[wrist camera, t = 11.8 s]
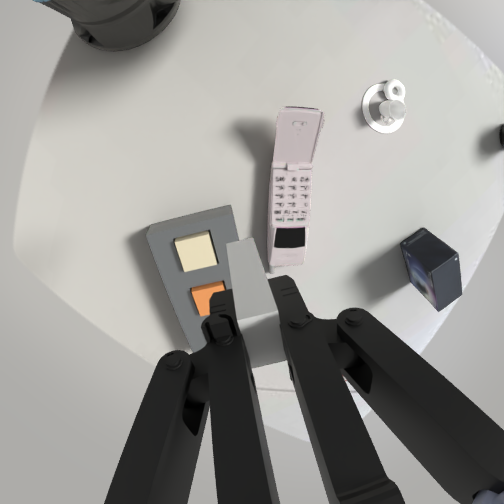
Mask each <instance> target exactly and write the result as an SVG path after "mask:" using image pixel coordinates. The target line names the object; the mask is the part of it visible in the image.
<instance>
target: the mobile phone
mask: <svg viewBox="0 0 504 504" xmlns="http://www.w3.org/2000/svg"><path fill="white" fill-rule="evenodd" d="M324 114H325V113H324V111H322V110H320V109H314V108H305V107H282V108H280V110H279V116H277V121H276V125H277V129H276V138H275V147H274V156H273V162H272V163H271V175H270V184H269V200H268V231H267V252H268V263H269V273H270V274H274V271H275V266H289V265H302V264H303V263H304V260H305V254H306V247H307V240H308V231H309V220H310V207H311V183H312V168H313V165H312V161H313V157H314V153H315V150H316V146H317V142H318V138H319V135H320V131H321V128H323V124H324Z"/></svg>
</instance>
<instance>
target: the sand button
mask: <svg viewBox="0 0 504 504" xmlns="http://www.w3.org/2000/svg"><path fill="white" fill-rule="evenodd" d="M175 245H176V248H177V251H178V254H179V257H180V260H181V263H182V266H183V269H184V272H187V271H192V270H196V269H200V268H204V267H209V266H213V265H217V260H216V250H215V246H214V242H213V239H212V235H211V231H210V230H206V231H202V232H198V233H194V234H190V235H186V236H182V237H178V238H176V239H175Z"/></svg>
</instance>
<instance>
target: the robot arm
mask: <svg viewBox="0 0 504 504" xmlns="http://www.w3.org/2000/svg"><path fill="white" fill-rule="evenodd" d="M33 1H35V2H40V3H42V4H43V5H46V6H48V7H50V8H52V9H54V10H56V11H58V12H60V13H61V14H63V15H65V16H67V17H69V18H71V21H72V24H73V27H74V30H75V32H76V33H77V35H78V36H79V37H80V38H81V39H82V40H83V41H84V42H86V43H87V44H89V45H91V46H93V47H95V48H98V49H101V50H106V51H121V50H127V49H131V48H134V47H137V46H139V45H142V44H144V43H146V42H147V41H149V40H151V39H152V38H154V37H155V36H157V35H158V34H159V33H160V32H161V31H163V30H164V29H165V28H166V27H167V25H168V24H169V23H170V22H171V20H172V19H173V17H174V16H175V14H176V12H177V10H178V7H179V4H180V0H33ZM226 247H227V254H228V261H229V269H230V276H231V283H232V289H228V290H223V291H219V292H214V293H213V294H212V296H211V298H210V299H209V308H210V309H209V312H210V316H208V317H207V318H205V320H204V321H203V322H202V324H201V329H202V332H203V334H204V337H205V339H206V342H207V344H206V345H205V346H204V347H203V348H202V349H200V350H198V351H197V352H194V353H192V354H190V355H189V354H188V353H186V352H185V351H181V350H176V351H171V352H169V353H166V354H165V355H164V356H163V357H161V359H160V360H159V362H158V364H157V366H156V368H155V371H154V373H153V376H152V378H151V381H150V383H149V385H148V388H147V390H146V393H145V395H144V398H143V400H142V403H141V405H140V408H139V411H138V413H137V415H136V418H135V421H134V423H133V426H132V429H131V431H130V434H129V436H128V439H127V442H126V444H125V447H124V450H123V452H122V455H121V457H120V460H119V463H118V466H117V469H116V471H115V474H114V477H113V480H112V483H111V485H110V488H109V491H108V494H107V497H106V500H105V503H104V504H187V503H188V498H189V494H190V489H191V485H192V481H193V476H194V472H195V468H196V463H197V459H198V455H199V450H200V446H201V442H202V437H203V433H204V428H205V424H206V420H207V416H208V411H209V407H210V414H211V430H212V444H213V456H214V467H215V478H216V489H217V498H218V504H280V501H279V497H278V492H277V488H276V483H275V478H274V473H273V469H272V464H271V460H270V455H269V450H268V445H267V440H266V435H265V431H264V425H263V420H262V415H261V410H260V405H259V400H258V395H257V390H256V385H255V380H254V376H253V373H252V369H251V368H256V367H261V366H265V365H269V364H273V363H277V362H281V361H285V360H287V361H288V367H289V373H290V379H291V381H293V385H294V388H295V391H296V395H297V398H298V401H299V405H300V408H301V411H302V414H303V418H304V421H305V424H306V428H307V431H308V434H309V438H310V441H311V444H312V448H313V451H314V454H315V457H316V461H317V464H318V467H319V471H320V474H321V477H322V481H323V484H324V487H325V491H326V494H327V497H328V501H329V504H405V502H404V499H403V497H402V494H401V492H400V490H399V488H398V486H397V485H396V484H395V482H393V481H392V480H390V479H389V478H388V477H387V475H386V473H385V471H384V469H383V466H382V464H381V461H380V459H379V457H378V454H377V452H376V450H375V447H374V445H373V443H372V440H371V438H370V436H369V434H368V431H367V429H366V427H365V425H364V422H363V420H362V418H361V415H360V413H359V411H358V409H357V407H356V404H355V402H354V400H353V398H352V395H351V393H350V391H349V389H348V387H347V384H346V382H345V380H344V378H343V376H344V377H345V378H346V380H347V381H348V382H349V383H350V384H351V385H352V386H353V388H354V389H355V390H356V391H357V392H358V393H359V394H360V396H361V397H362V398H363V399H364V400H365V401H366V402H367V404H368V405H369V406H370V407H371V408H372V409H373V410H374V412H376V414H377V415H378V416H379V417H380V418H381V419H382V421H383V422H384V423H385V424H386V425H387V426H388V427H389V429H390V430H391V431H392V432H393V433H394V434H395V435H396V436H397V438H398V439H399V440H400V441H401V442H402V443H403V444H404V445H405V446H406V448H407V449H408V450H409V451H410V452H411V453H412V454H413V455H414V457H415V458H416V459H417V460H418V461H419V462H420V463H421V464H422V466H423V467H424V468H425V469H426V470H427V471H428V472H429V473H430V474H431V476H432V477H433V478H434V479H435V480H436V481H437V482H438V483H439V484H440V485H441V487H442V488H443V489H444V490H445V491H446V492H447V493H448V494H449V495H450V496H452V498H454V499H455V500H456V501H458V502H459V503H461V504H504V430H503V429H502V428H500V427H499V426H498V425H497V424H496V423H495V422H494V421H493V420H492V419H491V418H490V417H489V416H487V415H486V414H485V413H484V412H483V411H482V410H481V409H480V408H479V407H478V406H476V405H475V404H474V403H473V402H472V401H471V400H470V399H469V398H468V397H466V396H465V395H464V394H463V393H462V392H461V391H460V390H459V389H457V388H456V387H455V386H454V385H453V384H452V383H451V382H449V381H448V380H447V379H446V378H445V377H444V376H443V375H441V374H440V373H439V372H438V371H437V370H436V369H435V368H433V367H432V366H431V365H430V364H429V363H428V362H426V361H425V360H424V359H423V358H422V357H421V356H420V355H418V354H417V353H416V352H415V351H414V350H413V349H411V348H410V347H409V346H408V345H407V344H406V343H404V342H403V341H402V340H401V339H400V338H398V337H397V336H396V335H395V334H394V333H393V332H391V331H390V330H389V329H388V328H387V327H385V326H384V325H383V324H382V323H381V322H379V321H378V320H377V319H376V318H375V317H373V316H372V315H371V314H370V313H369V312H367V311H365V310H364V309H360V308H349V309H346V310H343V311H342V312H341V313H339V315H338V317H337V319H329V320H327V319H319V318H316V317H314V315H313V314H312V313H310V312H309V311H308V309H307V307H306V305H305V303H304V301H303V299H302V297H301V294H300V292H299V290H298V288H297V286H296V284H295V282H294V280H293V279H292V278H290V277H289V276H287V275H284V276H279V277H275V278H271V279H267V277H266V274H265V271H264V268H263V265H262V262H261V259H260V256H259V253H258V251H257V248H256V245H255V242H254V239H253V238H248V239H244V240H240V241H235V242H231V243H227V244H226ZM342 375H343V376H342Z"/></svg>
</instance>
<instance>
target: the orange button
mask: <svg viewBox="0 0 504 504" xmlns="http://www.w3.org/2000/svg"><path fill="white" fill-rule="evenodd" d="M223 290H227V289H226V285H225V282H224V280H223V281H218V282H214V283H209V284H205V285H201V286H196V287H192V295H193V297H194V300H195V303H196V306H197V308H198V311H199V314H200V316H205V315H210V312H209V309H210V308H209V299H210V298H211V296H212V294H213V293H214V292H219V291H223Z"/></svg>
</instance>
